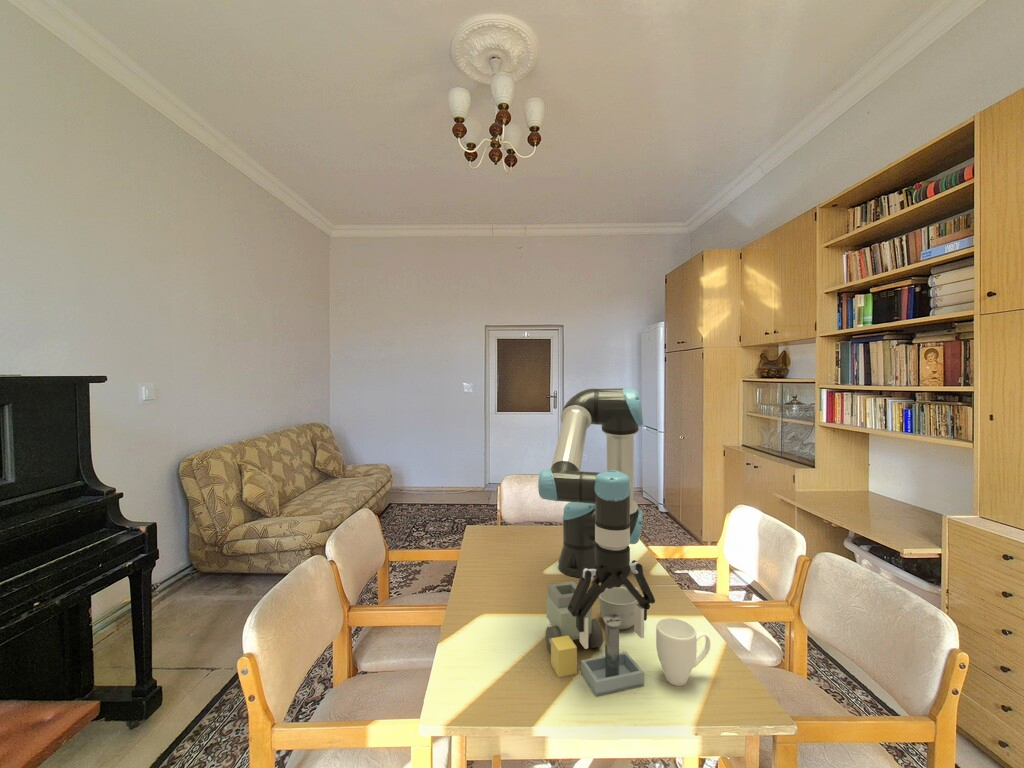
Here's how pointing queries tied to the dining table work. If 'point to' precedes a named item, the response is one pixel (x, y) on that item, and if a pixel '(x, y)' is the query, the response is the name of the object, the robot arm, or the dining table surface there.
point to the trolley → (568, 616)
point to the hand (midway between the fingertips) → (612, 639)
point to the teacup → (618, 605)
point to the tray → (625, 680)
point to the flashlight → (612, 644)
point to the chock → (563, 656)
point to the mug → (678, 649)
